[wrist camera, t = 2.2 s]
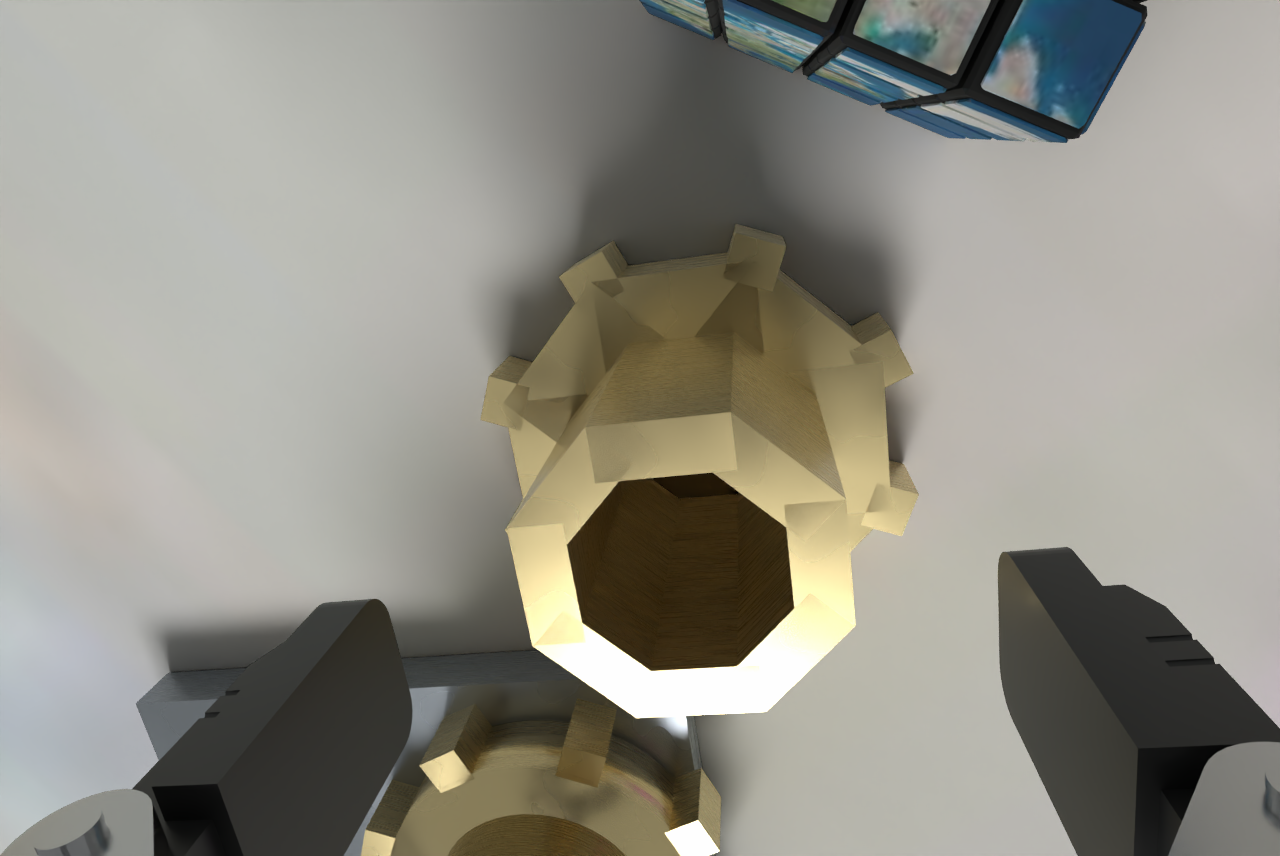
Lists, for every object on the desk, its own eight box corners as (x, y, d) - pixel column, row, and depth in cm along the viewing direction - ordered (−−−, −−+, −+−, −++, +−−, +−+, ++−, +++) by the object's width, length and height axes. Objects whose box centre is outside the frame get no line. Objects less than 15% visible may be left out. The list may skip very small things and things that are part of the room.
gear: (473, 260, 16) (334, 327, 11) (891, 202, 15) (980, 244, 10) (546, 611, 19) (465, 814, 13) (909, 587, 18) (989, 798, 12)
